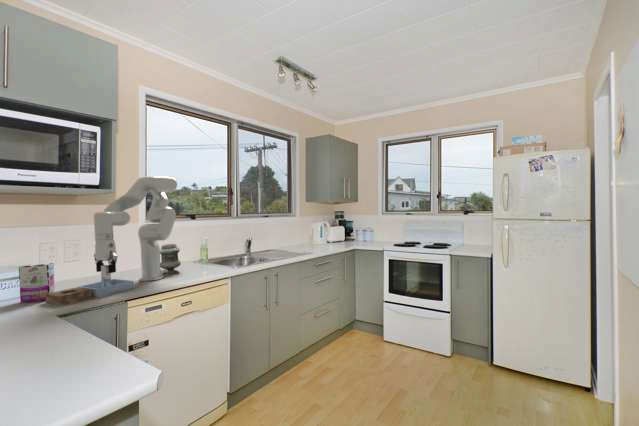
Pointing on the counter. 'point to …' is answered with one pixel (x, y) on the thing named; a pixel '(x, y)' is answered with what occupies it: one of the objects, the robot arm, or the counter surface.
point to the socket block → (68, 296)
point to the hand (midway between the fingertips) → (106, 271)
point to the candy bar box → (36, 281)
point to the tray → (108, 287)
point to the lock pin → (105, 276)
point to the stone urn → (169, 258)
